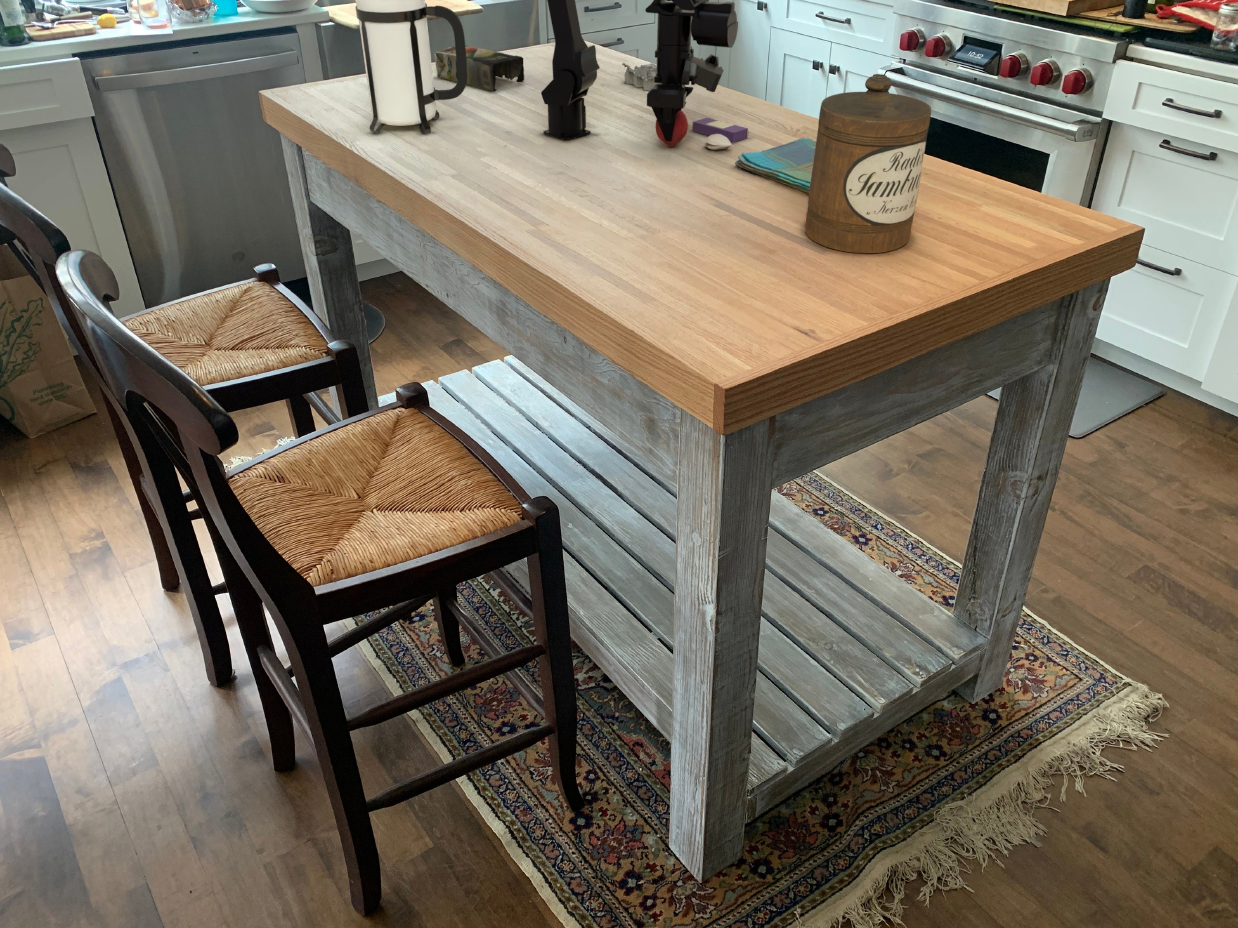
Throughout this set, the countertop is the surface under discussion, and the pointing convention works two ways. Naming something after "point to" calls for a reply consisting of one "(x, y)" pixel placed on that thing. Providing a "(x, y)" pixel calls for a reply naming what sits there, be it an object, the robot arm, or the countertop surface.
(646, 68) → the egg carton
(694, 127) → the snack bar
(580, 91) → the robot arm
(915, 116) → the wooden container
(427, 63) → the coffee press
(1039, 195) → the countertop surface
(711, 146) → the white clam shell
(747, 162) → the dish towel
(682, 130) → the onion
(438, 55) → the juice carton
